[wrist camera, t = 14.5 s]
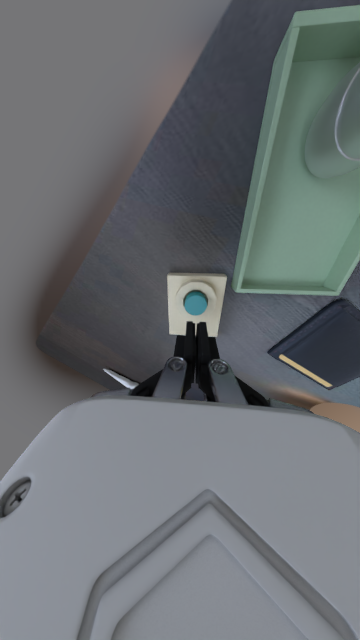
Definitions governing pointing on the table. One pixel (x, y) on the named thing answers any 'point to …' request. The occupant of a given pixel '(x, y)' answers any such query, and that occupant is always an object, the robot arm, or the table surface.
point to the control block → (191, 282)
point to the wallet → (325, 346)
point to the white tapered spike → (122, 379)
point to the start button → (195, 303)
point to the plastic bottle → (336, 130)
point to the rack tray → (301, 169)
